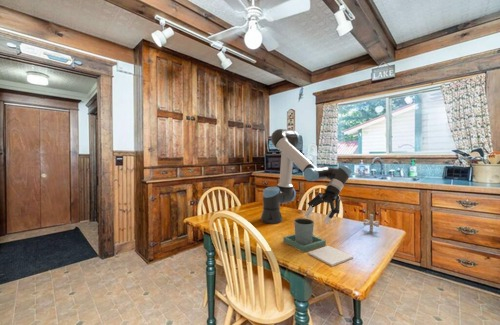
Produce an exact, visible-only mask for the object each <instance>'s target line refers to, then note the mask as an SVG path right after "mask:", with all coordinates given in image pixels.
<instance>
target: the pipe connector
mask: <svg viewBox="0 0 500 325" xmlns="http://www.w3.org/2000/svg"><path fill="white" fill-rule="evenodd" d="M362 224H363V226H369V232H370V231H373V232H374V227H376V228H379V227H380V221H379V220H374V214H369V219H366V218H364V219H363V223H362Z"/></svg>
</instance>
